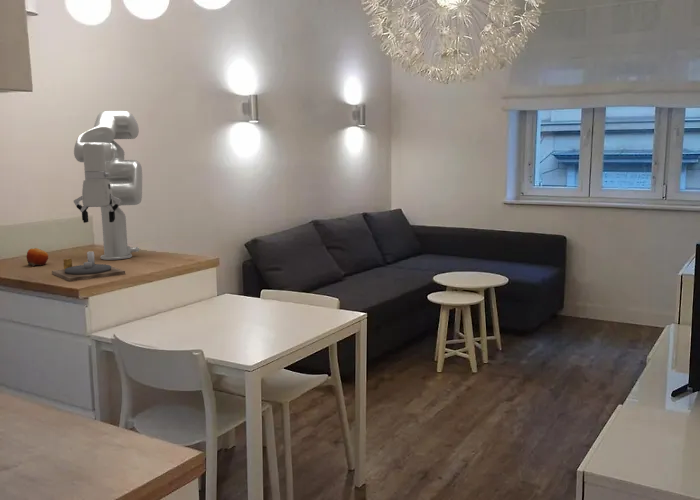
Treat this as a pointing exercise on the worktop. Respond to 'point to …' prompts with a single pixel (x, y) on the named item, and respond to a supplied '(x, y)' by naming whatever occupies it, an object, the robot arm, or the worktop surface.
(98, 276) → the stand
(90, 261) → the grey pot lid
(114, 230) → the robot arm
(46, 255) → the fruit
